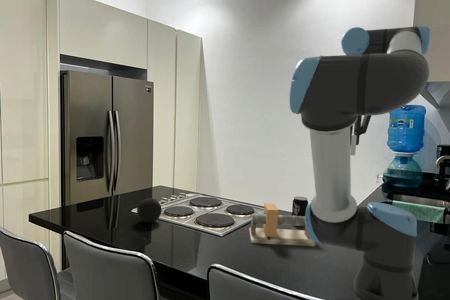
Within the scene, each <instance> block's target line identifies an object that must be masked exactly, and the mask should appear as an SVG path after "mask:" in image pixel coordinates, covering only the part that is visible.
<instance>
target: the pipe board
mask: <svg viewBox="0 0 450 300" xmlns="http://www.w3.org/2000/svg"><path fill="white" fill-rule="evenodd" d="M251 216H252V218H251V221H250V227H249V228H248V232H249V236H250V237H249V238H250V242H251V244H263V245H265V244H266V245H281V246H283V245H286V246H302V247H304V246H305V247H315V246H316V241H313V240H311V239H310V238H309V236H308V234H307V231H306V226H305V222H306V219H305V216H292V215H283V214H278V225H277V226H280V225H281V226H294V227H297V226H305V227H304V229H303V230H301V229H285V228H284V229H283V228H277V237H267V236H266V235H265V232H264V229H263V227H257V225H259V224H260V225H263V224H266V214H264V213H252V215H251Z"/></svg>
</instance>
